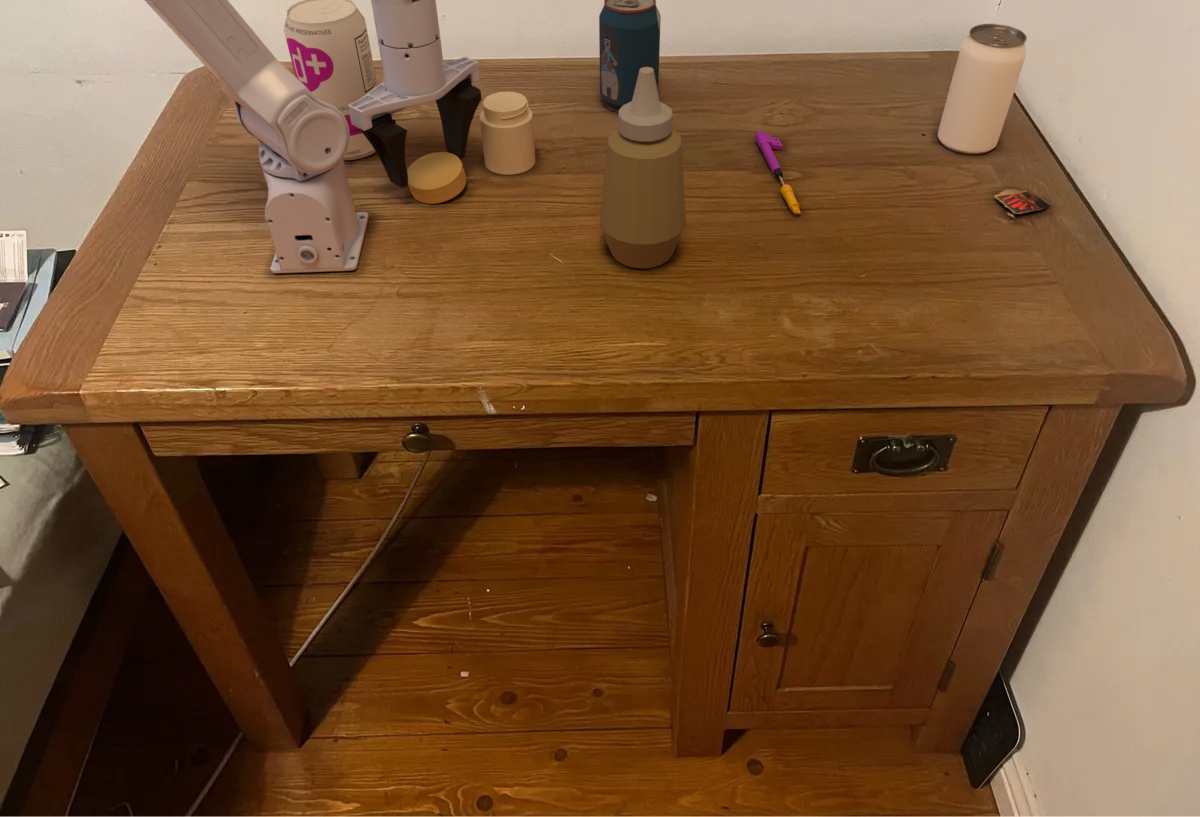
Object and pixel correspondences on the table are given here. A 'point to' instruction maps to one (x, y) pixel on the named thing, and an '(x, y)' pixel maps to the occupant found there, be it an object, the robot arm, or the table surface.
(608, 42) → the soda can
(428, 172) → the lid
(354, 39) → the supplement can
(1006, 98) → the can
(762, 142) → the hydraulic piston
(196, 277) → the table surface
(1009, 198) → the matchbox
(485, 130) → the jar
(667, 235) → the squeeze bottle
